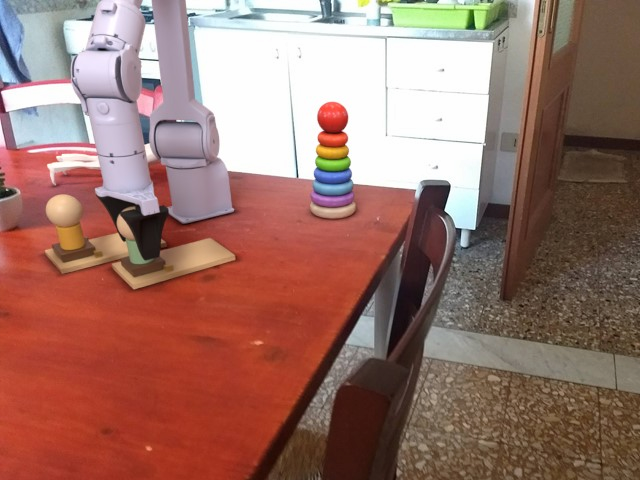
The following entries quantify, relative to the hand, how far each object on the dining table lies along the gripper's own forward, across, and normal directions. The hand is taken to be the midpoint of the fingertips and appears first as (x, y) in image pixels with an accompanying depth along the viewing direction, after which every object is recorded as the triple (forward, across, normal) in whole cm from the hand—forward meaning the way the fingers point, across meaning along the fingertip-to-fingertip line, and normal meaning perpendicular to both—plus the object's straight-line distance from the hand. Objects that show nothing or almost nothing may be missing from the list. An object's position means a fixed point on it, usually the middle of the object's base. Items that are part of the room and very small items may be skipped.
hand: (140, 248), depth 87 cm
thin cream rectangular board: (+4, 0, +4) cm, 6 cm away
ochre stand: (+4, -10, -2) cm, 11 cm away
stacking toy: (+4, -3, +34) cm, 35 cm away
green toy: (-2, 0, +2) cm, 3 cm away
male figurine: (+4, -42, +12) cm, 44 cm away
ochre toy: (-2, -11, -4) cm, 11 cm away
